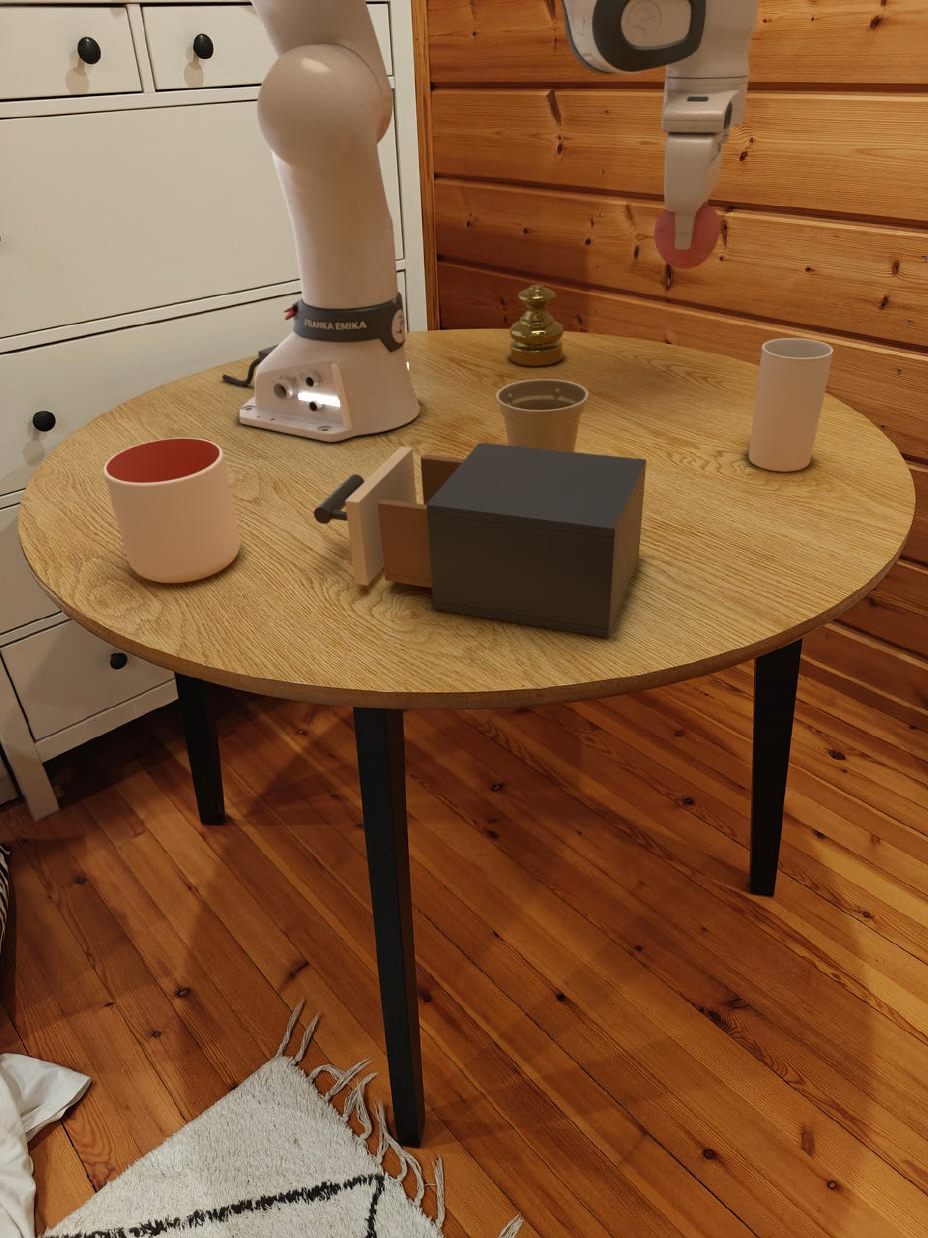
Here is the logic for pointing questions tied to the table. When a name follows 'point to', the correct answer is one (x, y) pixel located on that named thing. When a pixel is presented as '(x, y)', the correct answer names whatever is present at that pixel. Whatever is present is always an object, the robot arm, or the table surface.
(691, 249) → the apple
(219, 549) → the cup
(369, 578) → the drawer
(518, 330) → the gold chess piece
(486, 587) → the cabinet
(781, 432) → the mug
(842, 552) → the table surface
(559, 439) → the flower pot
